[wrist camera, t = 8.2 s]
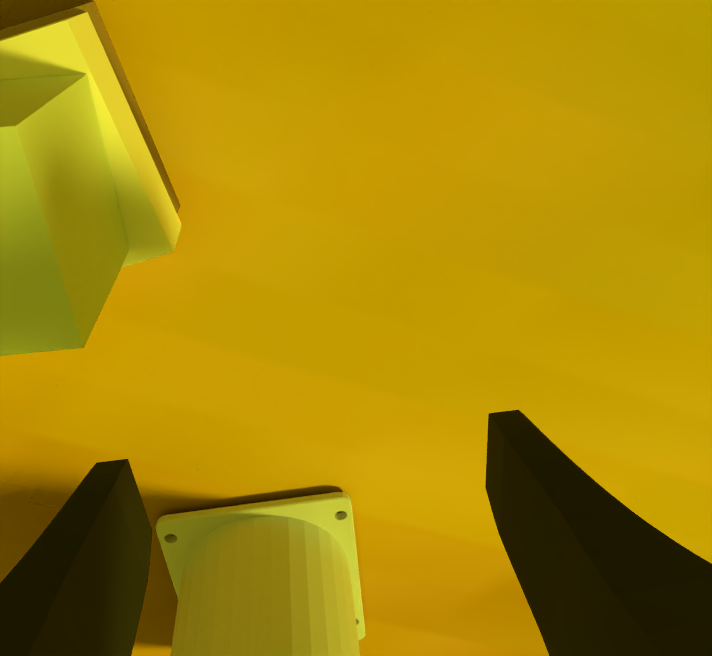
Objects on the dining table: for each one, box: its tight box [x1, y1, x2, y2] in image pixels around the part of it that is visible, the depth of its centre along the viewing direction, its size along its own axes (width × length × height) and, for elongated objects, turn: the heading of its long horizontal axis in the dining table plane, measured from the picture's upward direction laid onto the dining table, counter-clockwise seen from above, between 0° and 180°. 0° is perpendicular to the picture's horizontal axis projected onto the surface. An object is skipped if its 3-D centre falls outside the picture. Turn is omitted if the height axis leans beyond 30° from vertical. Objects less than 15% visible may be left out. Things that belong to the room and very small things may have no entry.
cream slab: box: [0, 12, 182, 268], centre depth 18 cm, size 6×6×2 cm
